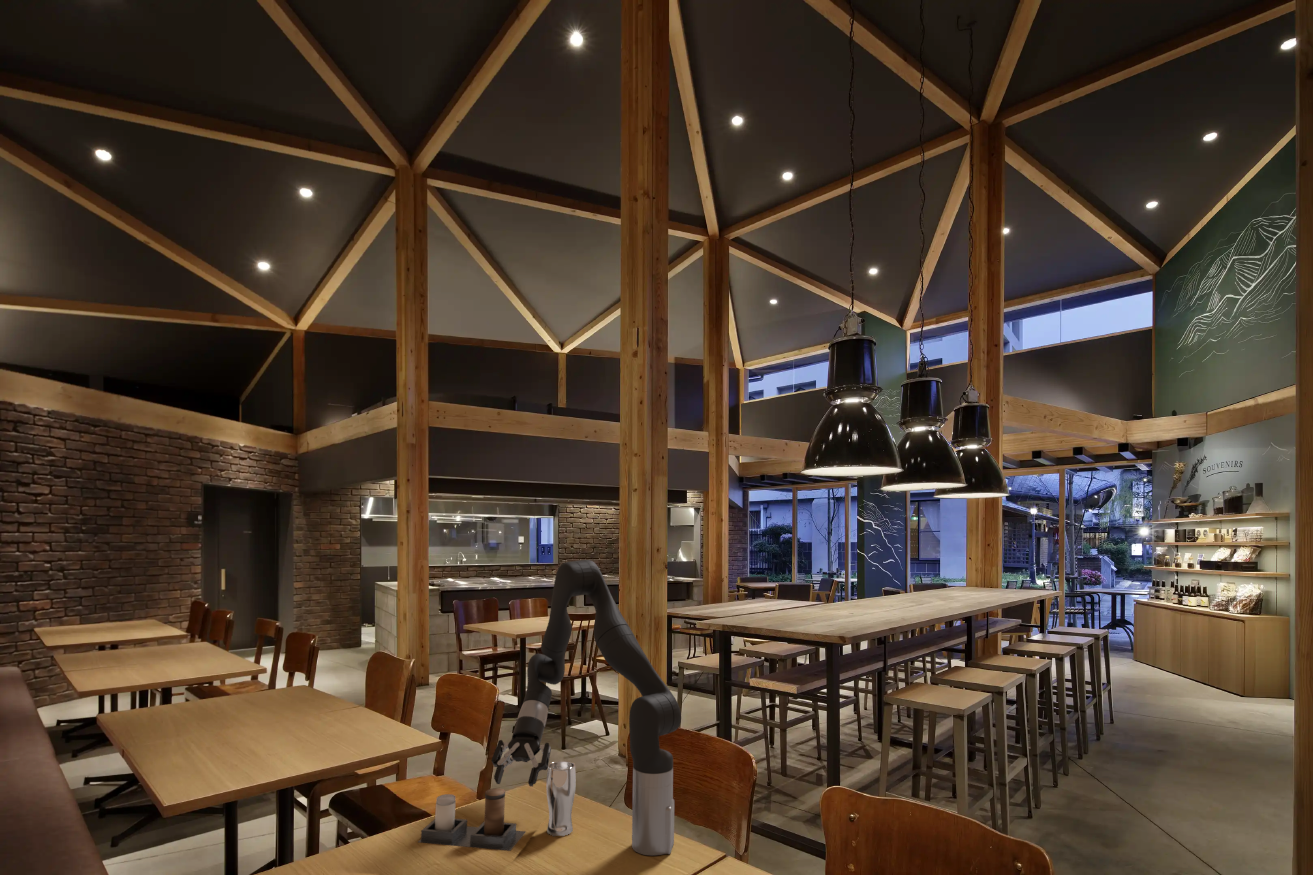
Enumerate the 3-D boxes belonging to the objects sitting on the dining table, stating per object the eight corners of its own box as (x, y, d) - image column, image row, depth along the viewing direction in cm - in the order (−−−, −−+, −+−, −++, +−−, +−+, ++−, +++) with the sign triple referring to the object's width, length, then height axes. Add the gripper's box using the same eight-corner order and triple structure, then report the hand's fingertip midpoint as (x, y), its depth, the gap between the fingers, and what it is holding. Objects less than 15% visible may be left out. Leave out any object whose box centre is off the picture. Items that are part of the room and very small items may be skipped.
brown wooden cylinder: (506, 834, 162) (508, 788, 164) (498, 842, 158) (500, 795, 160) (488, 833, 163) (490, 787, 165) (480, 841, 159) (481, 794, 160)
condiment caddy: (525, 835, 164) (526, 822, 165) (510, 855, 155) (510, 840, 155) (438, 828, 168) (438, 814, 168) (417, 846, 158) (418, 832, 159)
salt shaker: (457, 830, 164) (459, 794, 165) (448, 838, 160) (450, 801, 161) (439, 829, 165) (441, 793, 166) (430, 837, 161) (432, 800, 162)
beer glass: (577, 825, 170) (578, 760, 172) (570, 838, 163) (572, 770, 165) (549, 824, 171) (551, 759, 173) (541, 836, 164) (543, 769, 166)
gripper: (501, 713, 185) (482, 774, 172) (554, 716, 182) (538, 777, 170) (508, 729, 189) (490, 789, 176) (559, 731, 187) (544, 793, 174)
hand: (513, 783), depth 173 cm, fingers open, 8 cm apart
